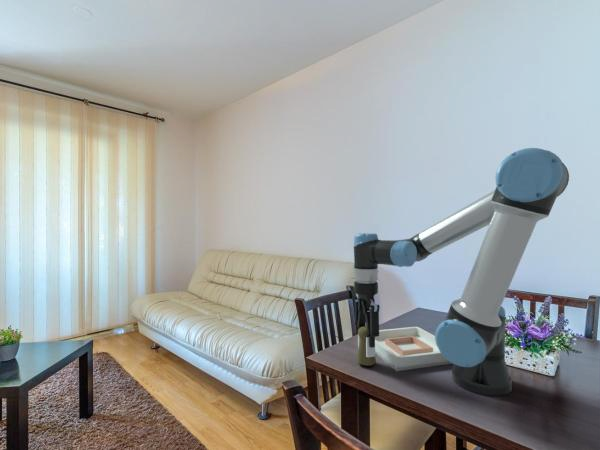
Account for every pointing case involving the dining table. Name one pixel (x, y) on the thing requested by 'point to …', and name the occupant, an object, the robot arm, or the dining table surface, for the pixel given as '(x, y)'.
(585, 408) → the dining table surface
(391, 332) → the walled box
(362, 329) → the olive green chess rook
